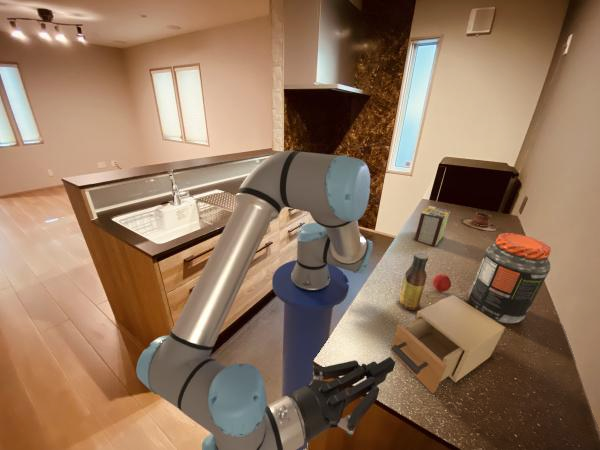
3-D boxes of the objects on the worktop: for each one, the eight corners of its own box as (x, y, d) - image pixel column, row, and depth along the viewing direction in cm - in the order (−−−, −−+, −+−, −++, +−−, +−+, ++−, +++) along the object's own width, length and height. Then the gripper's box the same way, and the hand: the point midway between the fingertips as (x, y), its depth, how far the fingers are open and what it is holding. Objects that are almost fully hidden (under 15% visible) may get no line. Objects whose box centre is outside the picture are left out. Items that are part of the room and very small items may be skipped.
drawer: (420, 402, 54) (430, 375, 51) (378, 356, 64) (384, 331, 61) (469, 367, 63) (481, 341, 59) (425, 331, 73) (433, 307, 69)
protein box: (442, 237, 135) (450, 210, 129) (435, 246, 124) (443, 218, 118) (422, 231, 141) (429, 205, 135) (413, 239, 130) (420, 212, 124)
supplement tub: (513, 301, 88) (546, 237, 78) (530, 333, 75) (572, 260, 65) (463, 288, 94) (487, 226, 84) (470, 315, 81) (500, 246, 70)
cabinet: (455, 382, 60) (469, 351, 55) (408, 339, 71) (417, 311, 66) (490, 356, 67) (505, 327, 62) (442, 321, 78) (452, 294, 73)
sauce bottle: (407, 296, 88) (421, 248, 80) (422, 308, 83) (438, 257, 75) (393, 301, 85) (406, 251, 77) (408, 313, 80) (423, 262, 72)
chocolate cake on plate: (471, 217, 165) (475, 207, 162) (502, 227, 151) (506, 217, 149) (457, 222, 156) (461, 211, 153) (488, 233, 143) (493, 222, 140)
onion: (430, 284, 95) (436, 267, 92) (447, 289, 93) (453, 271, 90) (430, 293, 90) (436, 275, 87) (448, 298, 88) (455, 280, 85)
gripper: (317, 446, 37) (421, 378, 48) (281, 372, 47) (373, 329, 58) (314, 471, 40) (412, 402, 51) (281, 396, 50) (368, 352, 61)
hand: (391, 363), depth 54 cm, fingers closed
